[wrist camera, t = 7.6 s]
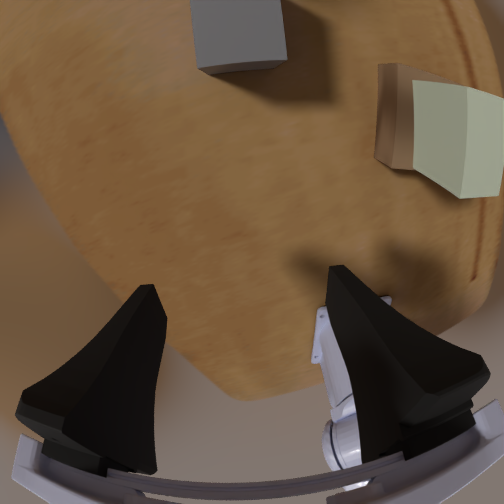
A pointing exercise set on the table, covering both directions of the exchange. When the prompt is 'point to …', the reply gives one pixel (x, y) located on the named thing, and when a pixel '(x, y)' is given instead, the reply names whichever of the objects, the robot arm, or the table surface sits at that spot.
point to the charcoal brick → (238, 35)
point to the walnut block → (398, 113)
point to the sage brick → (459, 138)
